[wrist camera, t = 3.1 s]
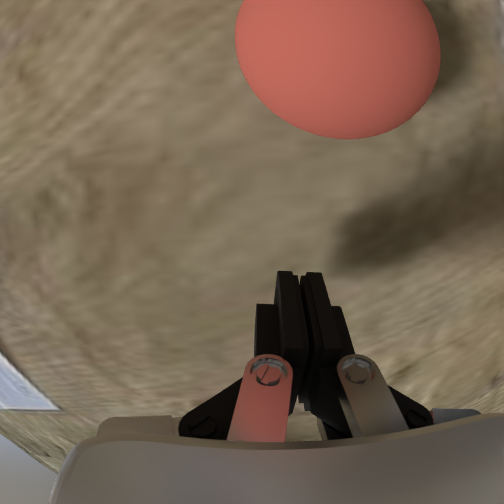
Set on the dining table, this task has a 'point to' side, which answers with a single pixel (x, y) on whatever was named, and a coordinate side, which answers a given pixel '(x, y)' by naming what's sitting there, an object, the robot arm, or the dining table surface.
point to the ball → (339, 62)
